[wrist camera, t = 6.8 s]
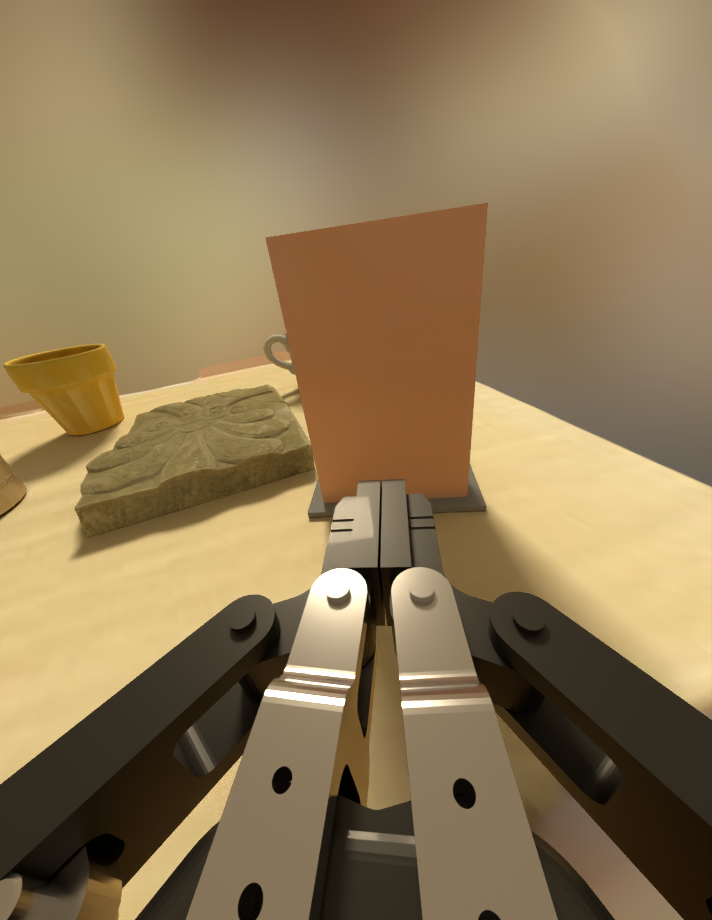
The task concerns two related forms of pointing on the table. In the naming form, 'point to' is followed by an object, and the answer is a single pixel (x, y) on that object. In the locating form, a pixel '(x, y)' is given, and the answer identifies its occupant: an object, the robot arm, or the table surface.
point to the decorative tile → (193, 457)
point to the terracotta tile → (386, 346)
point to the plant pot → (72, 386)
